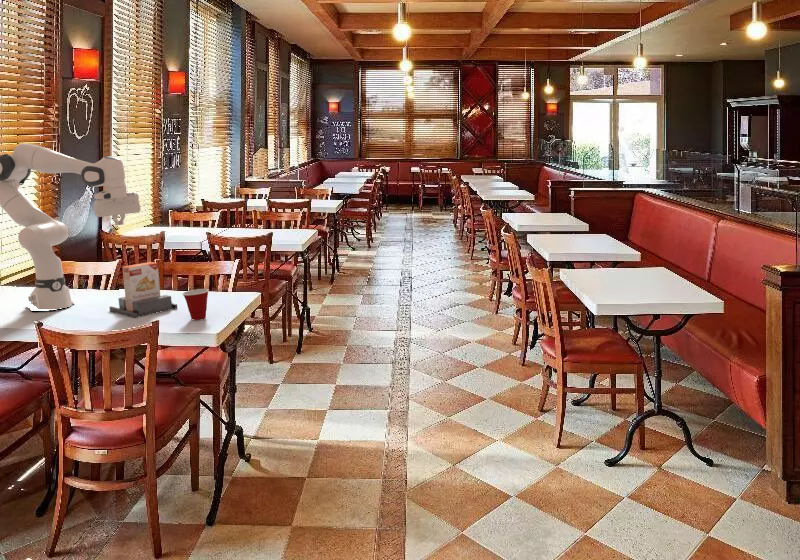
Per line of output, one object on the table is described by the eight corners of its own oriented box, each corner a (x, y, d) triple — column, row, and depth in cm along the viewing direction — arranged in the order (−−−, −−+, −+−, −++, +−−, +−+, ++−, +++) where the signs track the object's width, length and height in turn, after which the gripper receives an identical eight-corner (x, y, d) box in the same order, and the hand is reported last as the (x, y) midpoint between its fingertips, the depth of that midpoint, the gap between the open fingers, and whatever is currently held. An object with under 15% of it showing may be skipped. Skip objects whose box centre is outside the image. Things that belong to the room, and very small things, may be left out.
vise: (109, 311, 319) (108, 298, 318) (150, 302, 334) (149, 289, 333) (136, 318, 305) (134, 304, 304) (177, 308, 320) (176, 295, 319)
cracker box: (134, 315, 311) (128, 267, 306) (126, 313, 314) (121, 266, 310) (162, 308, 321) (158, 262, 317) (154, 306, 325) (150, 261, 321)
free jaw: (119, 311, 318) (118, 298, 316) (152, 304, 330) (151, 291, 328) (125, 313, 314) (124, 299, 313) (158, 305, 326) (157, 292, 325)
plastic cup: (193, 314, 308) (191, 287, 306) (216, 315, 305) (213, 288, 303) (179, 321, 298) (176, 293, 296) (202, 322, 295) (199, 294, 293)
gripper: (134, 191, 328) (137, 221, 330) (90, 195, 312) (94, 227, 315) (141, 191, 323) (144, 222, 326) (97, 196, 308) (101, 228, 311)
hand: (119, 224), depth 321 cm, fingers closed
